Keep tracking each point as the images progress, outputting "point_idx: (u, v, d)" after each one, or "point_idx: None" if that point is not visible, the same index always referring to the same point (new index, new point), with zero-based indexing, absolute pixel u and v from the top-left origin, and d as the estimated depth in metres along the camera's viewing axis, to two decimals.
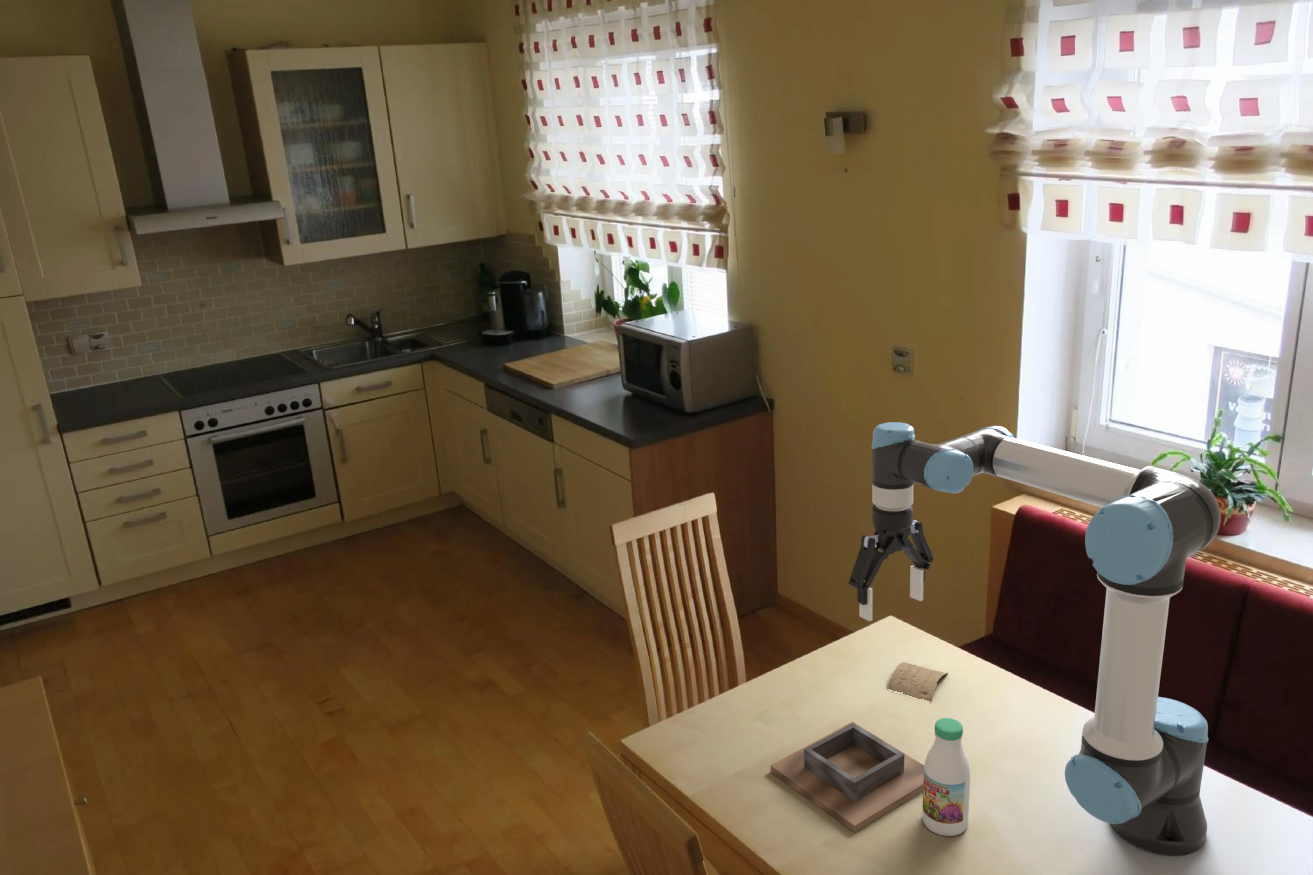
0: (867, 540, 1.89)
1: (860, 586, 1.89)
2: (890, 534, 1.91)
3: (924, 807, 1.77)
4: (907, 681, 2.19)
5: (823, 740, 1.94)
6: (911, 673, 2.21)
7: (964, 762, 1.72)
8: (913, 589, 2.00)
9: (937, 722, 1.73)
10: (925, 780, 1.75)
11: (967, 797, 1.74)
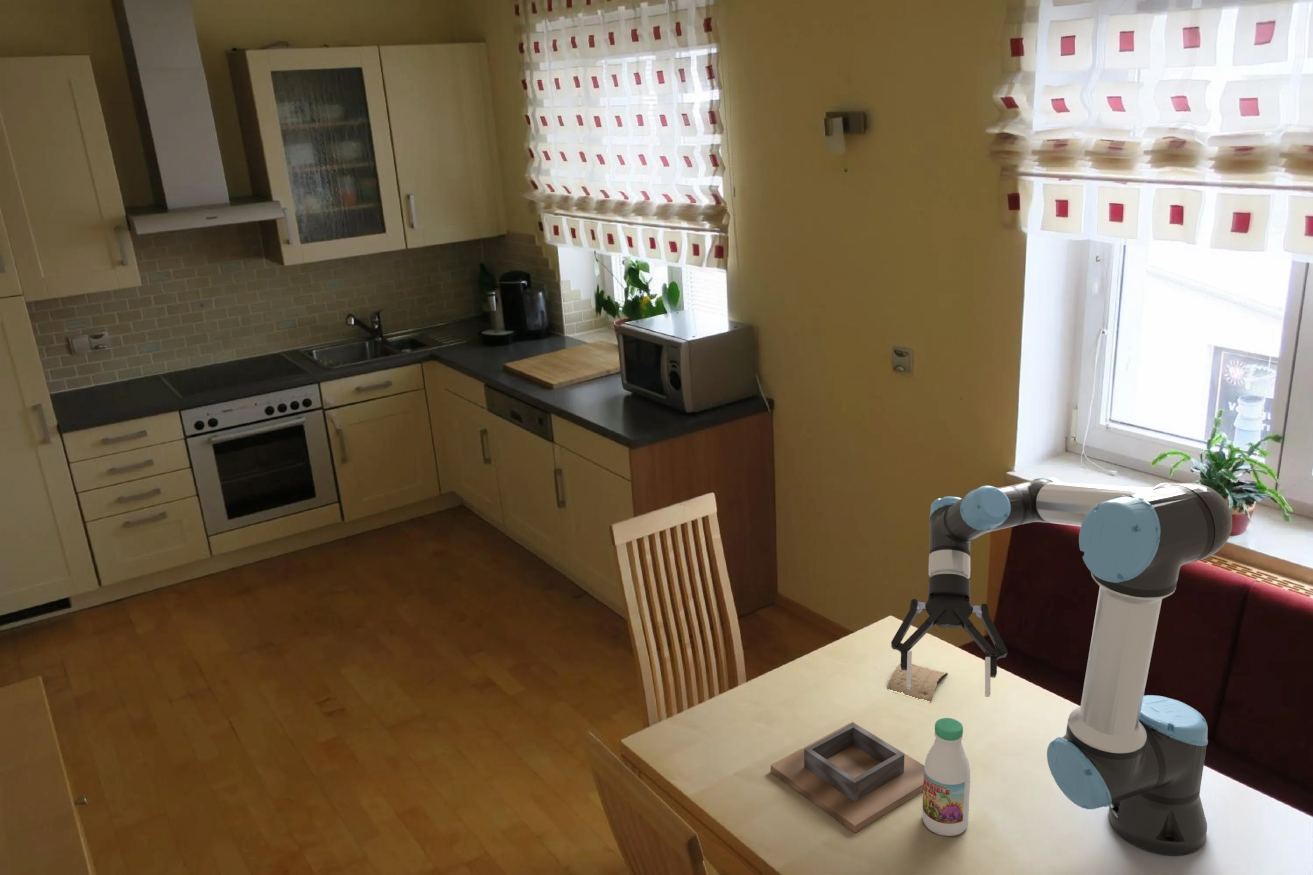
0: (911, 602, 1.90)
1: (894, 642, 1.87)
2: (940, 602, 1.88)
3: (924, 807, 1.77)
4: None
5: (823, 740, 1.94)
6: (911, 673, 2.21)
7: (964, 762, 1.72)
8: (985, 684, 1.82)
9: (937, 722, 1.73)
10: (925, 780, 1.75)
11: (967, 797, 1.74)
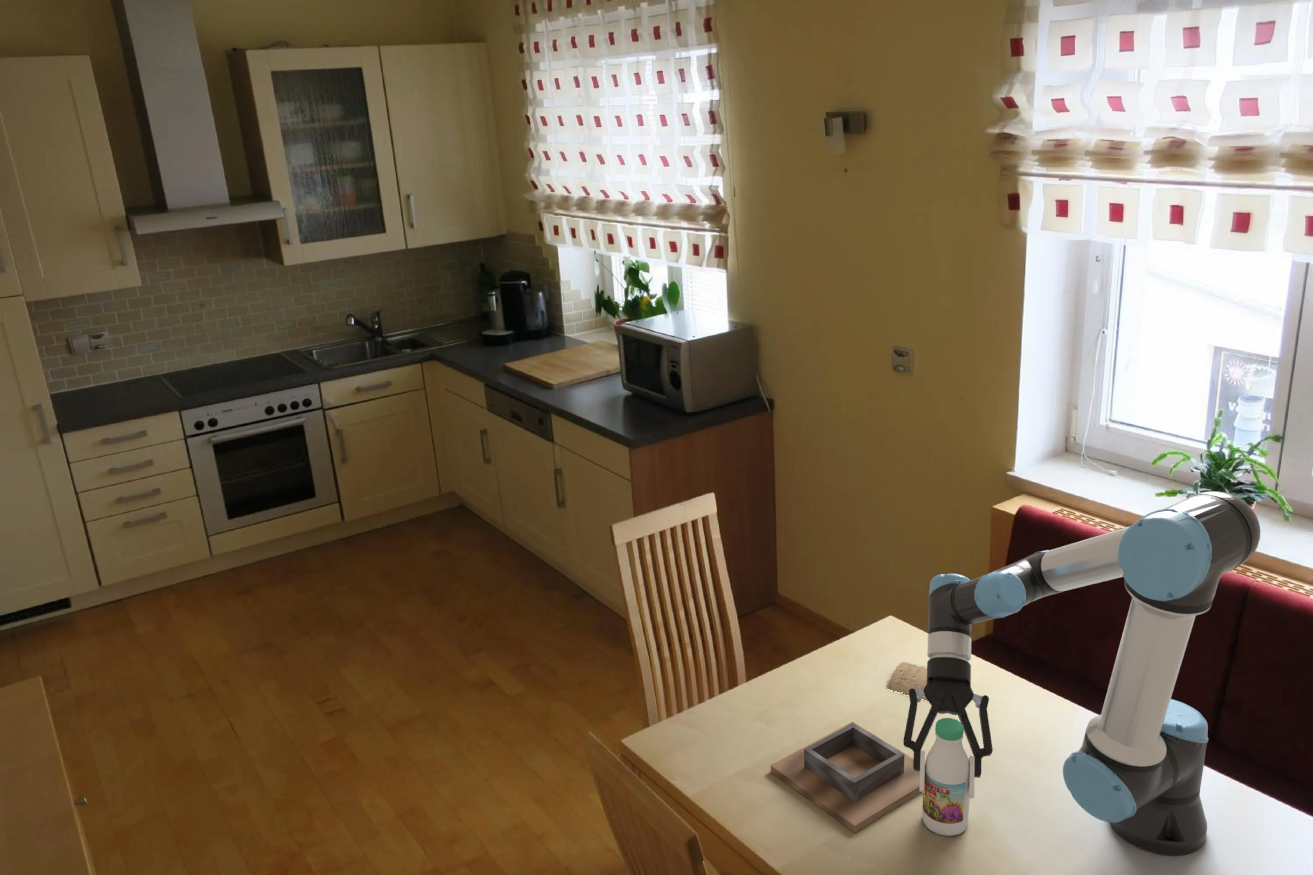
0: (909, 692, 1.81)
1: (907, 741, 1.77)
2: (937, 685, 1.80)
3: (924, 807, 1.77)
4: (907, 681, 2.19)
5: (823, 740, 1.94)
6: (911, 673, 2.21)
7: (965, 762, 1.72)
8: None
9: (938, 722, 1.73)
10: (925, 780, 1.75)
11: (967, 797, 1.74)
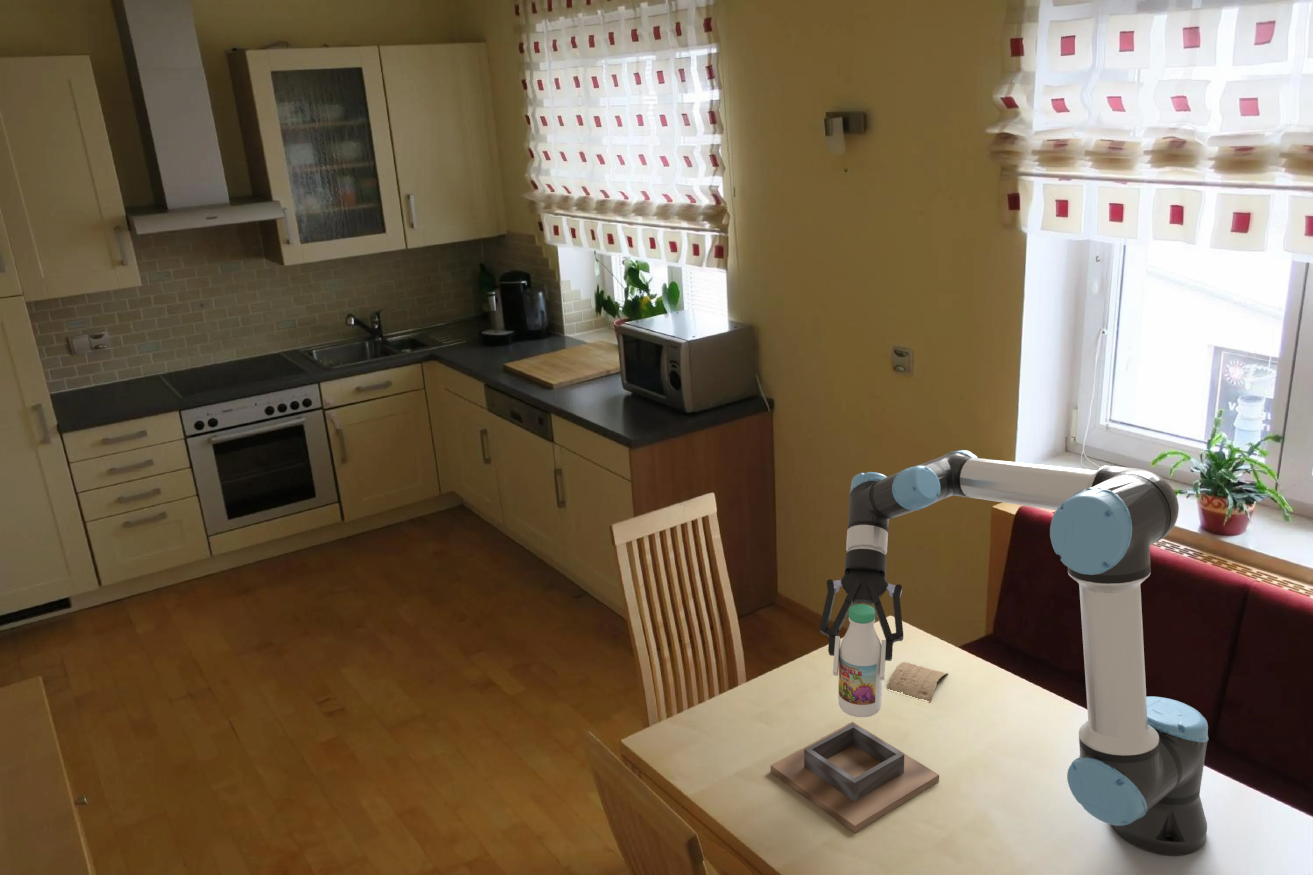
0: None
1: (823, 627, 1.84)
2: (854, 575, 1.88)
3: (839, 690, 1.85)
4: (907, 681, 2.19)
5: (823, 740, 1.94)
6: (911, 673, 2.21)
7: (876, 645, 1.80)
8: None
9: (851, 607, 1.81)
10: (840, 664, 1.83)
11: (879, 679, 1.82)
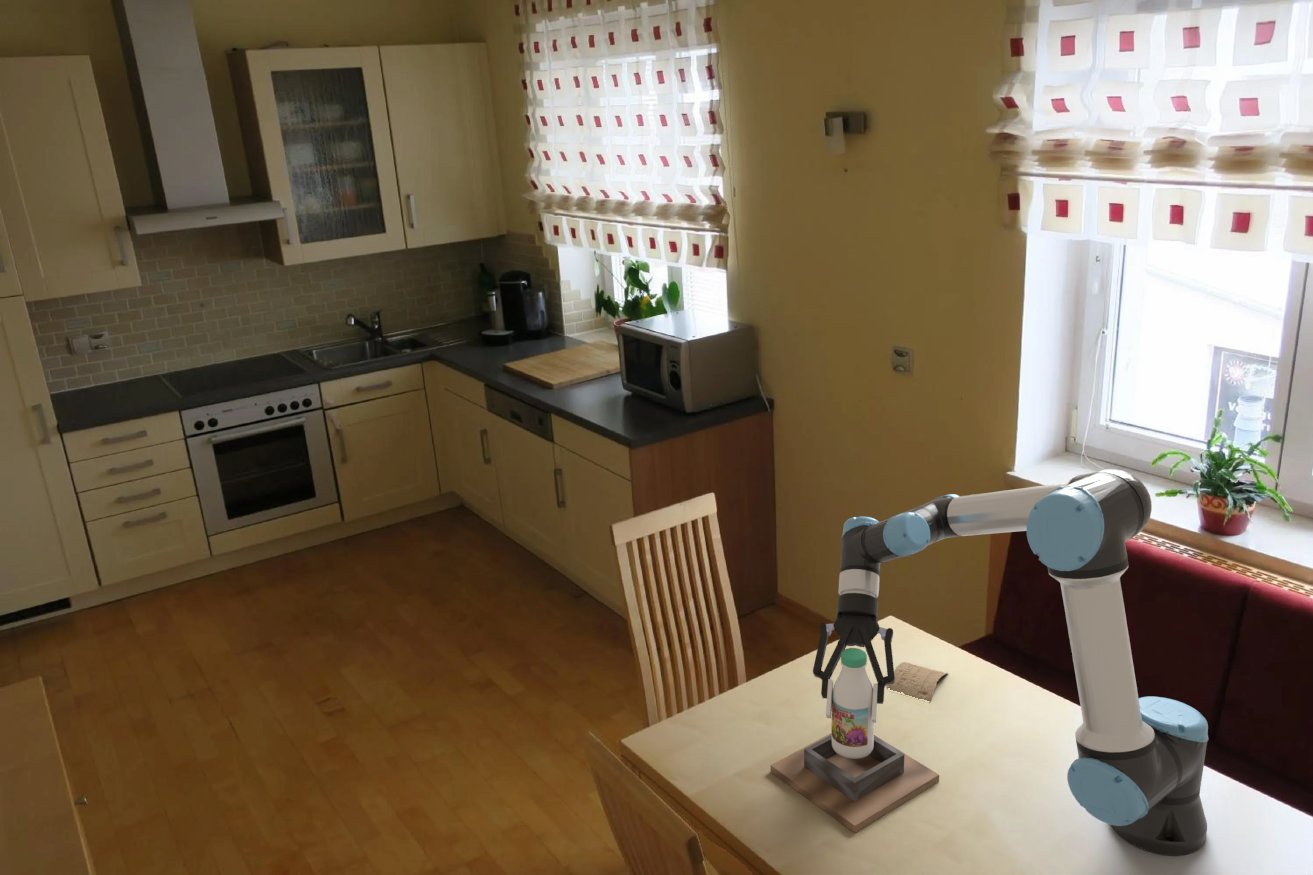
0: None
1: (816, 670, 1.88)
2: (846, 619, 1.92)
3: (832, 732, 1.89)
4: (907, 681, 2.19)
5: (823, 740, 1.94)
6: (911, 673, 2.21)
7: (868, 688, 1.84)
8: None
9: (843, 651, 1.85)
10: (832, 706, 1.87)
11: (871, 722, 1.86)
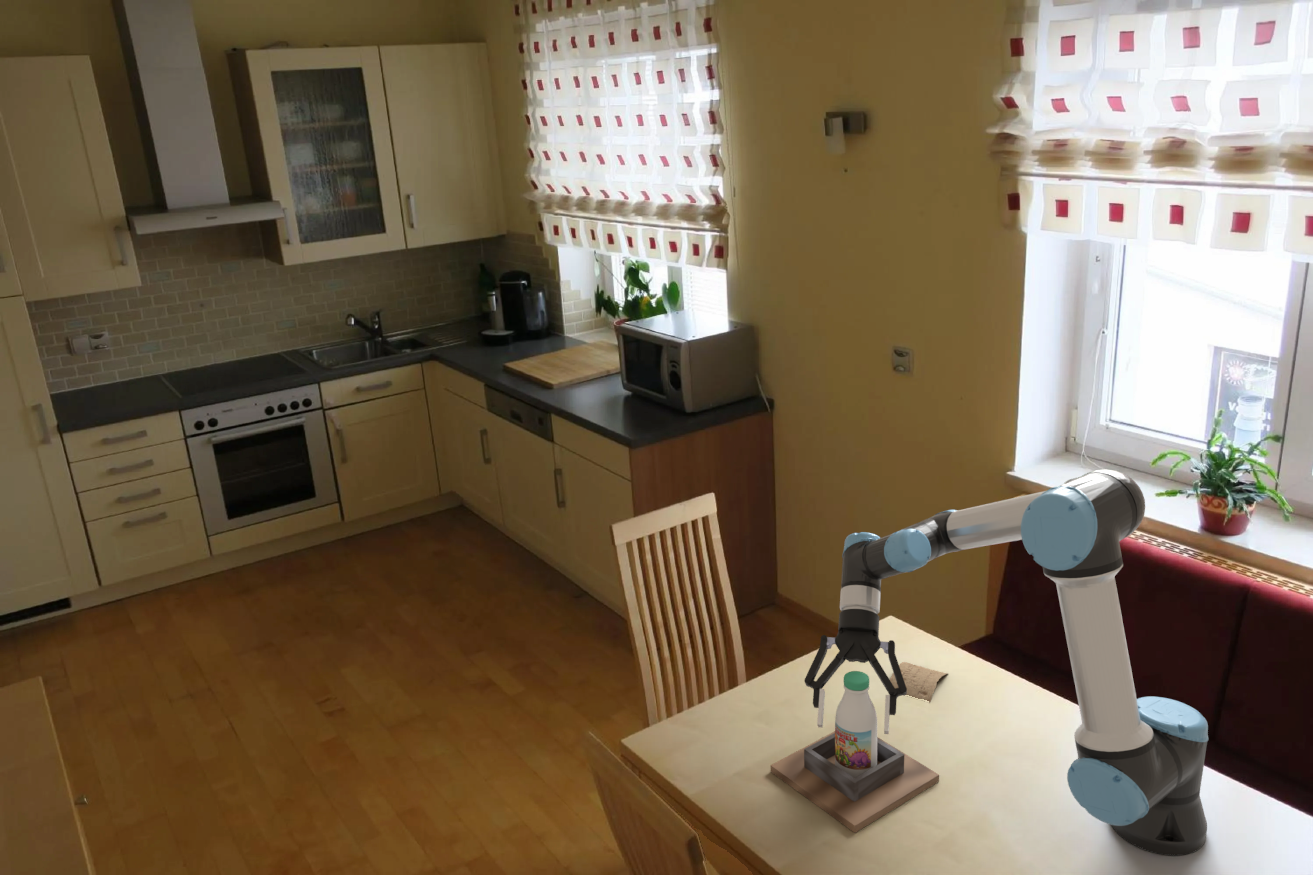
0: (821, 638, 1.94)
1: (807, 680, 1.90)
2: (848, 636, 1.92)
3: (836, 755, 1.90)
4: (907, 681, 2.19)
5: (823, 740, 1.94)
6: (911, 673, 2.21)
7: (871, 711, 1.85)
8: None
9: (846, 674, 1.86)
10: (836, 729, 1.88)
11: (874, 744, 1.87)
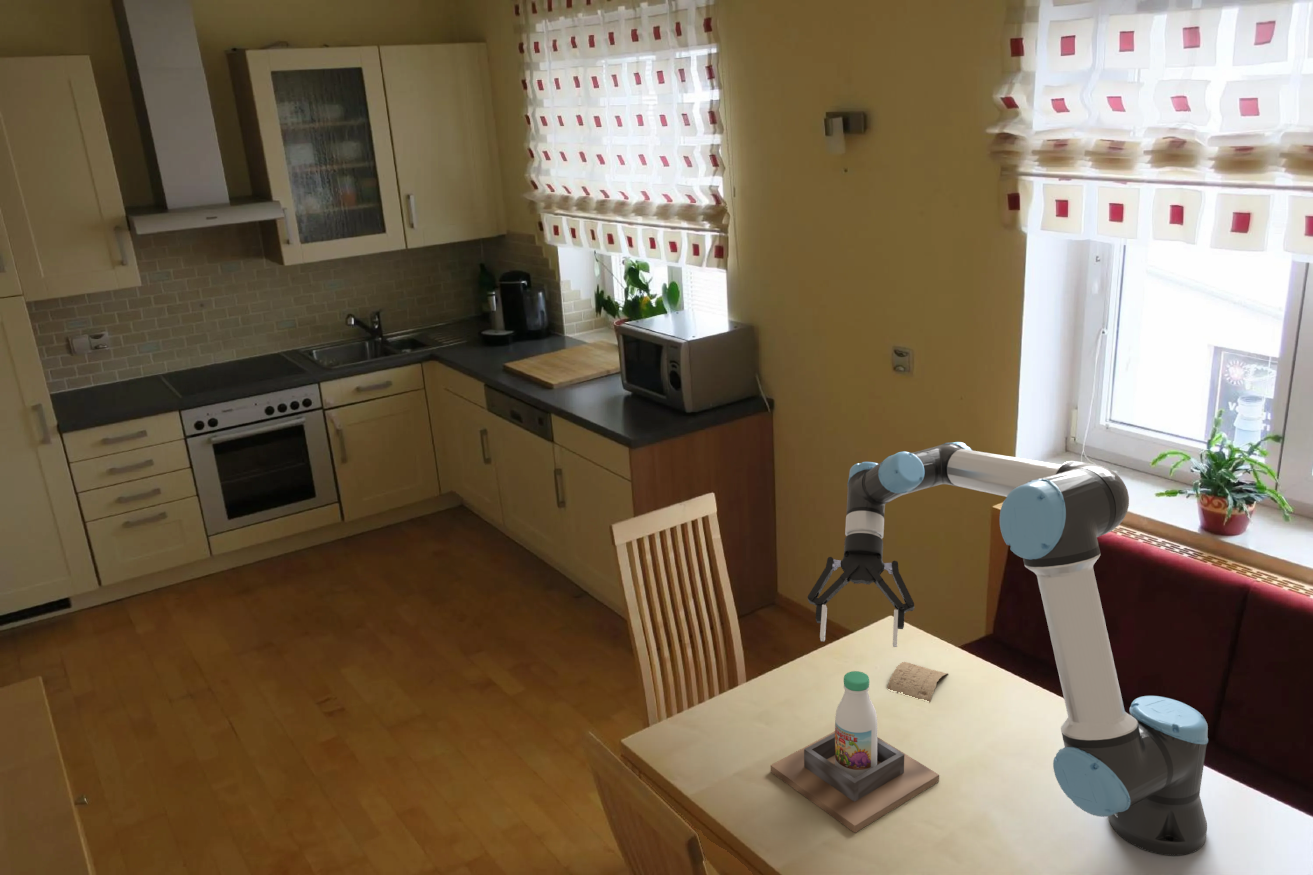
0: None
1: (810, 597, 1.99)
2: (854, 560, 2.01)
3: (836, 755, 1.90)
4: (907, 681, 2.19)
5: (823, 740, 1.94)
6: (911, 673, 2.21)
7: (871, 712, 1.85)
8: None
9: (846, 675, 1.86)
10: (836, 729, 1.88)
11: (874, 745, 1.87)
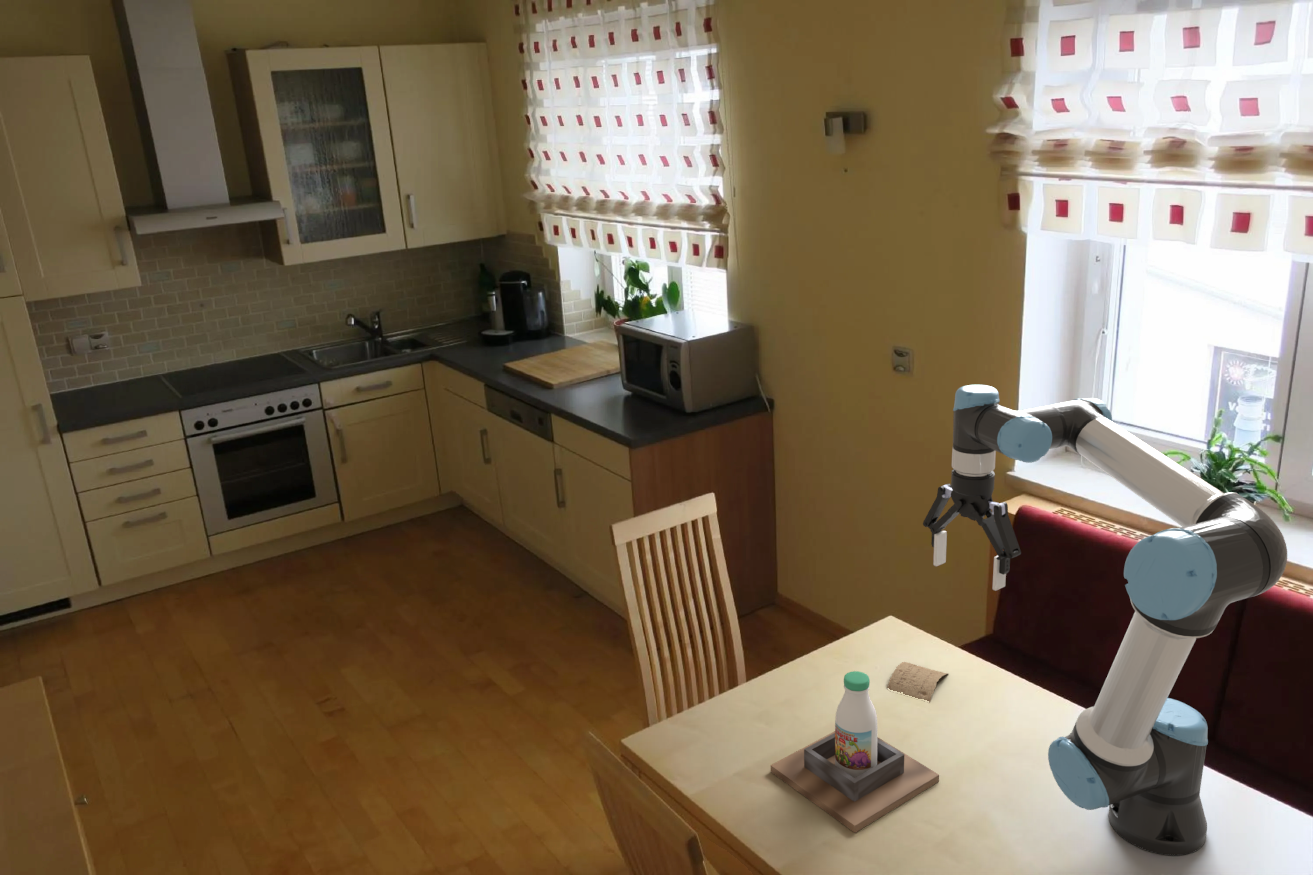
0: None
1: (925, 524, 1.96)
2: (960, 495, 1.87)
3: (836, 755, 1.90)
4: (907, 681, 2.19)
5: (823, 740, 1.94)
6: (911, 673, 2.21)
7: (871, 712, 1.85)
8: None
9: (846, 675, 1.86)
10: (836, 729, 1.88)
11: (874, 745, 1.87)
